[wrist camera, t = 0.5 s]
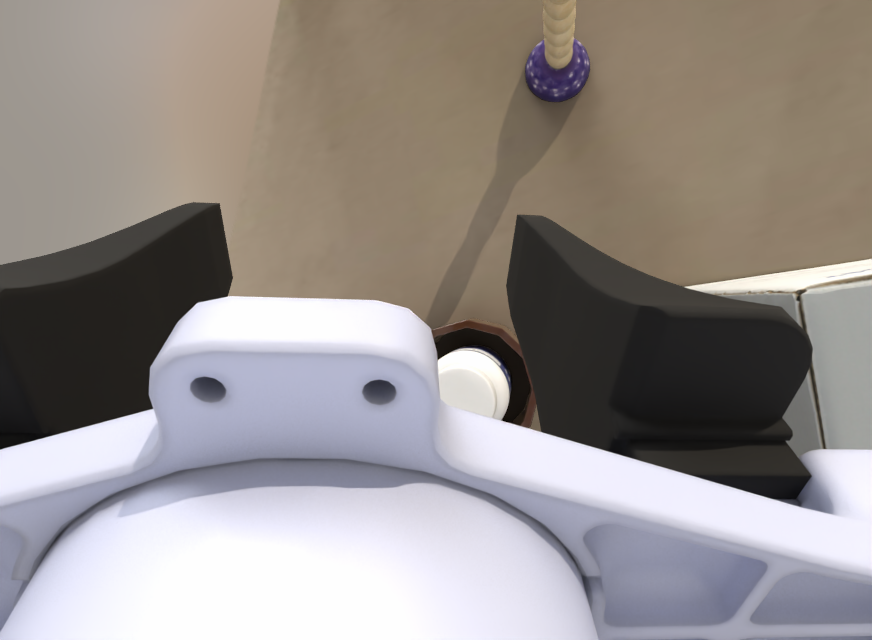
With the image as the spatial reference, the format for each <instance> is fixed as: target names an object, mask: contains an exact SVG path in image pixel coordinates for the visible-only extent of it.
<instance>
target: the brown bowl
mask: <svg viewBox="0 0 872 640" xmlns="http://www.w3.org/2000/svg"><path fill="white" fill-rule="evenodd" d="M464 328H471V329H475V330H479V331H483V332H487V333H491V334H494V335H498V336H500V337H501V338H502V339H503V340H504V341H505V342H506V343H507V344H508V345H509V346H510V347H511V348H512V349H513V350H514V351H515V352H516V353H517V354H518V355H519V356H520V357H522V359H523V362H524V365H525V369H526V372H527V376H528V379H529V383H530V389H529V393H528V397H527V401H526V405H525V409H524V410H523V411H522V412H521V413H520V414H519V415H518V416H517V417H516V418H515V419H514V420H513V421H512V422H511V424H515V425H518V426H522V427H525V428H529V427H530V426H531V424H532V420H533V416H534V412H535V408H536V398H535V393H534V390H533V386H532V382H531V378H530V375H529V372H528V369H527V366H526V363H525V360H524V357H523V354H522V350H521V347H520V344H519V341H518V338H517V336H516V335H515V334H514V333H513V332H512V331H511V330H509V329H508V328H507V327H506V326H505V325H501V324H497V323H493V322H488V321H484V320H480V319H476V318H471V319H467V320H463V321H460V322H456V323H453V324H450V325H446V326H443V327H439V328H436V329H433V330H432V331H431V332H432V335H433V339H434V343H435V344H436V343H437V342H438V341H439V340H440V339H441V338H442V337H443V336H444V335H445V334H447V333H450V332H454V331H457V330H461V329H464Z"/></svg>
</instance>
